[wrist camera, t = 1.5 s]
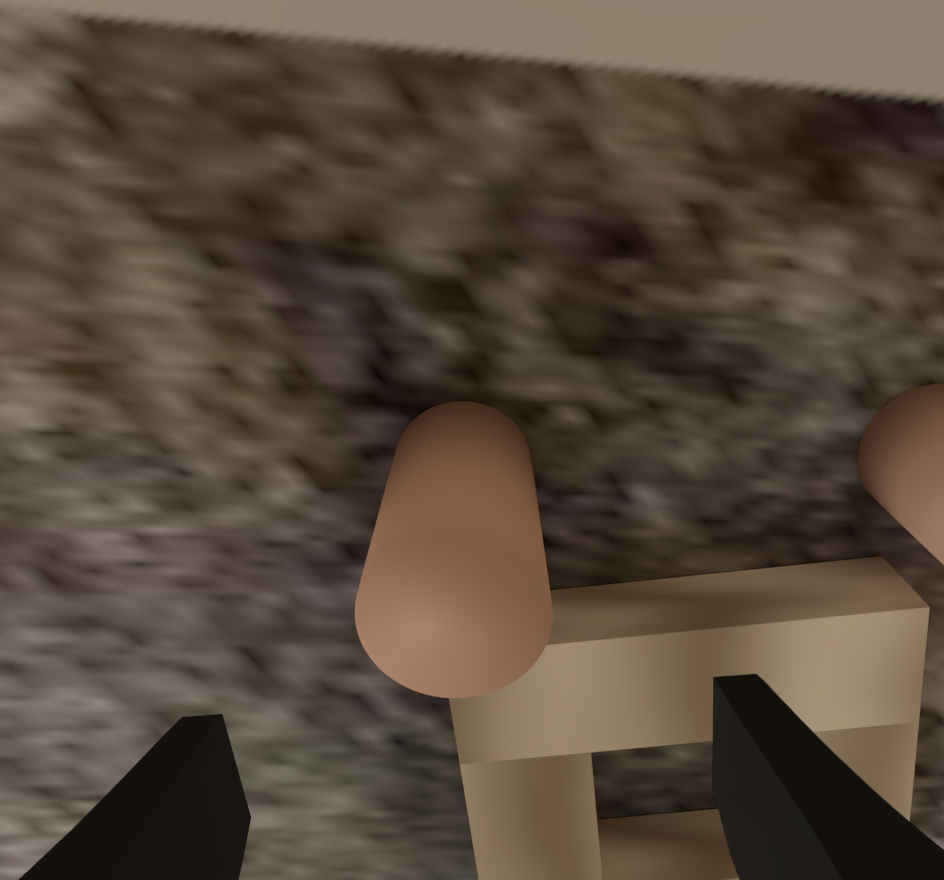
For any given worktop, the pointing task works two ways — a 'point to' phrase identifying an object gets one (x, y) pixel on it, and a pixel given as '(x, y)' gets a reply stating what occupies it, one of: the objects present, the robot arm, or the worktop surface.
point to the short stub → (909, 463)
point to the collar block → (684, 708)
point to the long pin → (457, 558)
